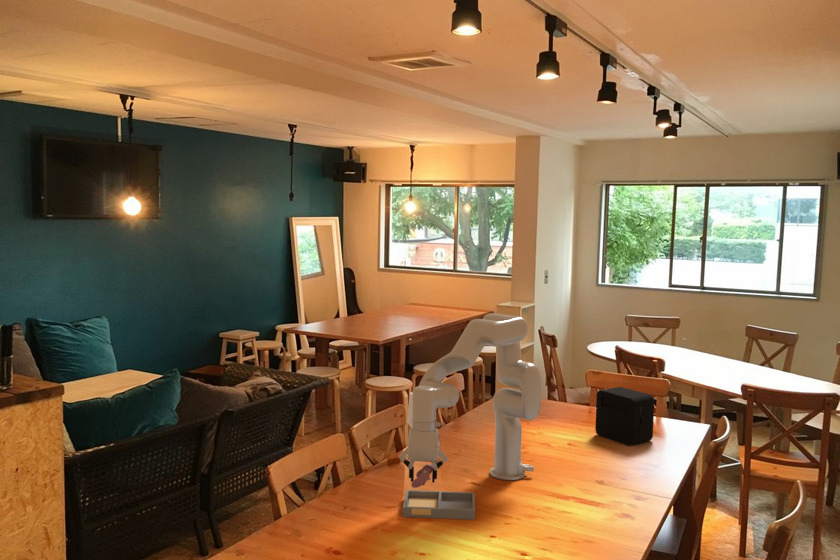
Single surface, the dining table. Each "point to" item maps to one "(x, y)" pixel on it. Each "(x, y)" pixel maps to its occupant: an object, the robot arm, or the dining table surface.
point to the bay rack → (439, 504)
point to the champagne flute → (410, 409)
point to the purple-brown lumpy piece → (422, 476)
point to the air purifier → (624, 415)
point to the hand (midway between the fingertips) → (422, 480)
